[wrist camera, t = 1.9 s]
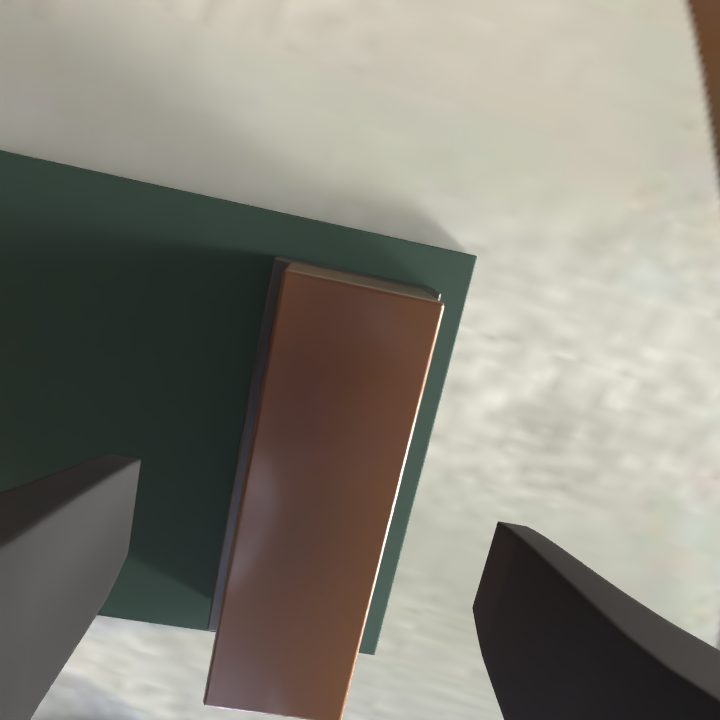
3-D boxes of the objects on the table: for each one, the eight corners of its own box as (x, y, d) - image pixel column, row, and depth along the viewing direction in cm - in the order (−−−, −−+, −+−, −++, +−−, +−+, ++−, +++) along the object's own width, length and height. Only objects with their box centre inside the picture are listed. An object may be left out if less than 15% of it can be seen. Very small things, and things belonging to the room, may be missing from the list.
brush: (432, 287, 15) (466, 307, 11) (351, 622, 17) (357, 728, 13) (277, 254, 14) (261, 263, 11) (214, 602, 16) (183, 705, 13)
